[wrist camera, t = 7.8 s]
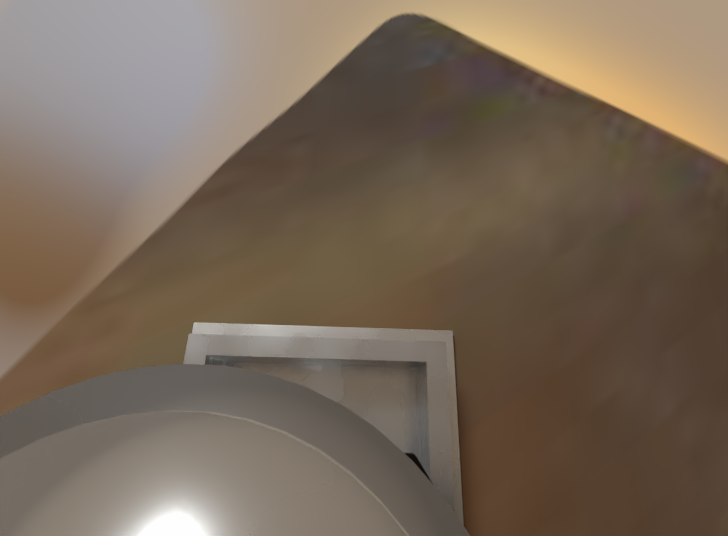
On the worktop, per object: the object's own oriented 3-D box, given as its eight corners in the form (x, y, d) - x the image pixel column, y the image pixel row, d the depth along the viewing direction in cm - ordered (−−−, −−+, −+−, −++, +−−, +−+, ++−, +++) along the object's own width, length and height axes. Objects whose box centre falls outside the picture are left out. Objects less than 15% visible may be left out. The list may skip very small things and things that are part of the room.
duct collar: (469, 660, 14) (496, 719, 11) (135, 655, 13) (83, 715, 11) (451, 331, 18) (468, 318, 15) (196, 323, 18) (169, 309, 15)
